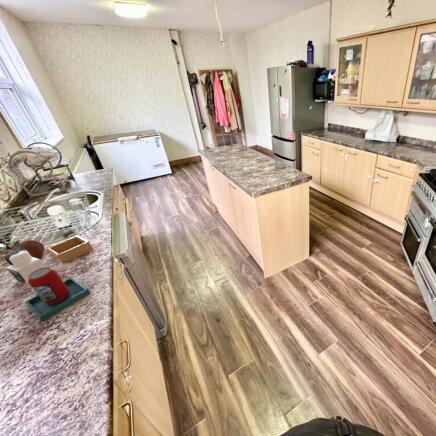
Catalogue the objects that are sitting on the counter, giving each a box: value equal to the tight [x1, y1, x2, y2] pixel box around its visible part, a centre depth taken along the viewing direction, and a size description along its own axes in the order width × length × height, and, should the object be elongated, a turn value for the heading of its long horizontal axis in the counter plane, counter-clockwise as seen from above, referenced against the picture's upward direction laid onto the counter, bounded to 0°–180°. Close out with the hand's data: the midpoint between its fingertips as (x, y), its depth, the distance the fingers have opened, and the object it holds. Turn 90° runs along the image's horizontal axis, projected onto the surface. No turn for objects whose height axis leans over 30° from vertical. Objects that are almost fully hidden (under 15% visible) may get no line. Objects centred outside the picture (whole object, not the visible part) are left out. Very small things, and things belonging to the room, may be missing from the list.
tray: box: [24, 276, 91, 323], centre depth 82 cm, size 13×13×2 cm
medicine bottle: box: [4, 249, 46, 285], centre depth 90 cm, size 7×7×12 cm
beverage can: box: [28, 266, 70, 305], centre depth 79 cm, size 7×7×12 cm
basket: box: [46, 235, 94, 265], centre depth 106 cm, size 12×12×4 cm
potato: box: [18, 239, 45, 259], centre depth 104 cm, size 8×12×8 cm, turn 47°
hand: (1, 255), depth 71 cm, fingers open, 8 cm apart
